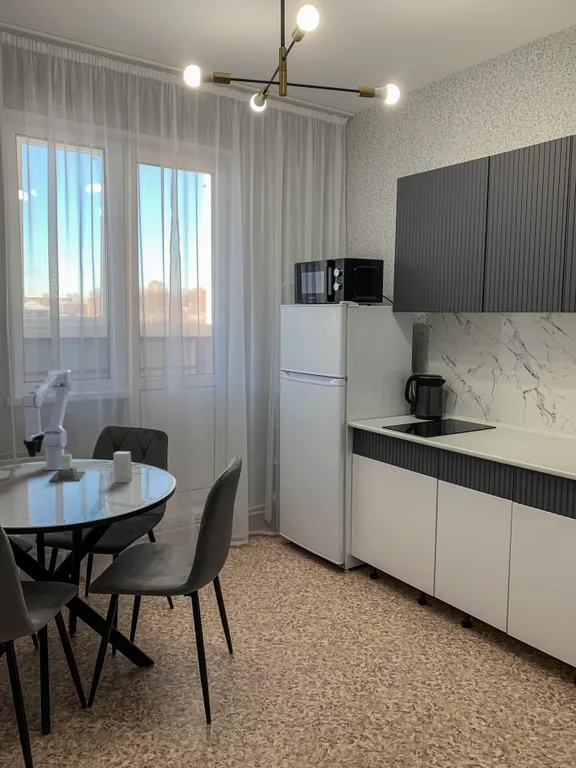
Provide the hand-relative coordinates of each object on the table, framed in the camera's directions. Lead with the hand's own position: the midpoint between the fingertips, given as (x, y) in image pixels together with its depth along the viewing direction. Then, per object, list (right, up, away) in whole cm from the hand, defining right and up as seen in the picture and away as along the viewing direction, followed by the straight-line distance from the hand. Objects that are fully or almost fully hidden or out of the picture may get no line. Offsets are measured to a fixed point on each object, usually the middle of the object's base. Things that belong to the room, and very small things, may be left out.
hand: (35, 454), depth 257 cm
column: (+13, -7, +1) cm, 15 cm away
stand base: (+13, -10, +1) cm, 16 cm away
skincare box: (+38, -11, -5) cm, 40 cm away
